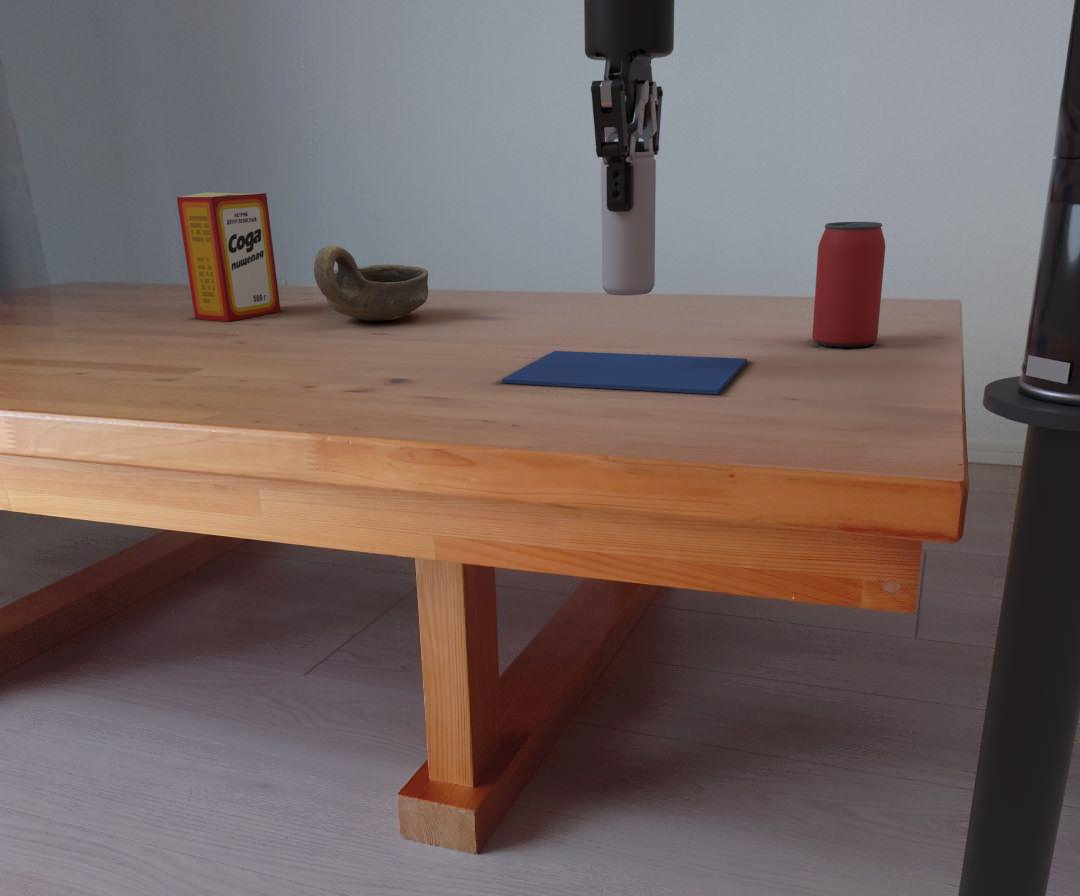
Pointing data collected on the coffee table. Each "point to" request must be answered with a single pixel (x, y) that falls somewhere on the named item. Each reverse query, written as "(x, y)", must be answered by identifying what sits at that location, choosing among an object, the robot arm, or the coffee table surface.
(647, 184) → the beverage can
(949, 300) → the coffee table surface
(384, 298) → the bowl
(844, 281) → the beer can
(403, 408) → the coffee table surface
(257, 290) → the baking soda box
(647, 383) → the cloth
